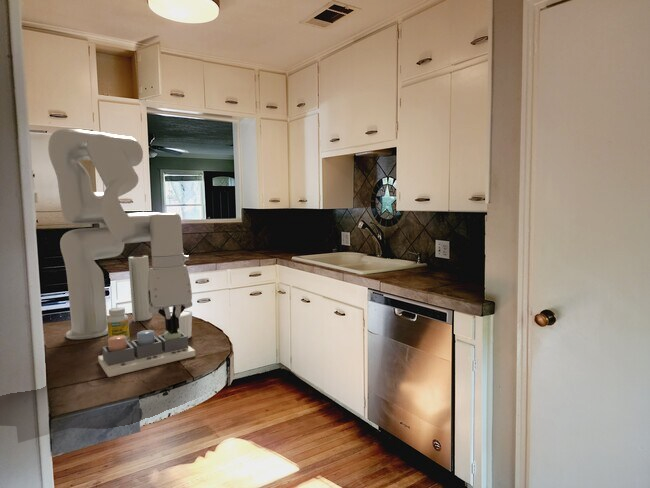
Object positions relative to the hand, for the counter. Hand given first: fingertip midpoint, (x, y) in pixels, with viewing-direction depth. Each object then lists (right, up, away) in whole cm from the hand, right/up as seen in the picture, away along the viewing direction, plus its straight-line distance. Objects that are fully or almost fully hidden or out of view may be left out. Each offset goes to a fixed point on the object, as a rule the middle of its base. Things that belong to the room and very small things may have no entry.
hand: (172, 332), depth 111 cm
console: (-5, -6, -3) cm, 9 cm away
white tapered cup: (-2, -4, +14) cm, 15 cm away
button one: (-10, -3, -7) cm, 13 cm away
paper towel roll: (-23, -3, +34) cm, 41 cm away
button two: (-5, -3, -4) cm, 7 cm away
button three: (0, -4, 0) cm, 4 cm away
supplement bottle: (-19, -5, +10) cm, 22 cm away
